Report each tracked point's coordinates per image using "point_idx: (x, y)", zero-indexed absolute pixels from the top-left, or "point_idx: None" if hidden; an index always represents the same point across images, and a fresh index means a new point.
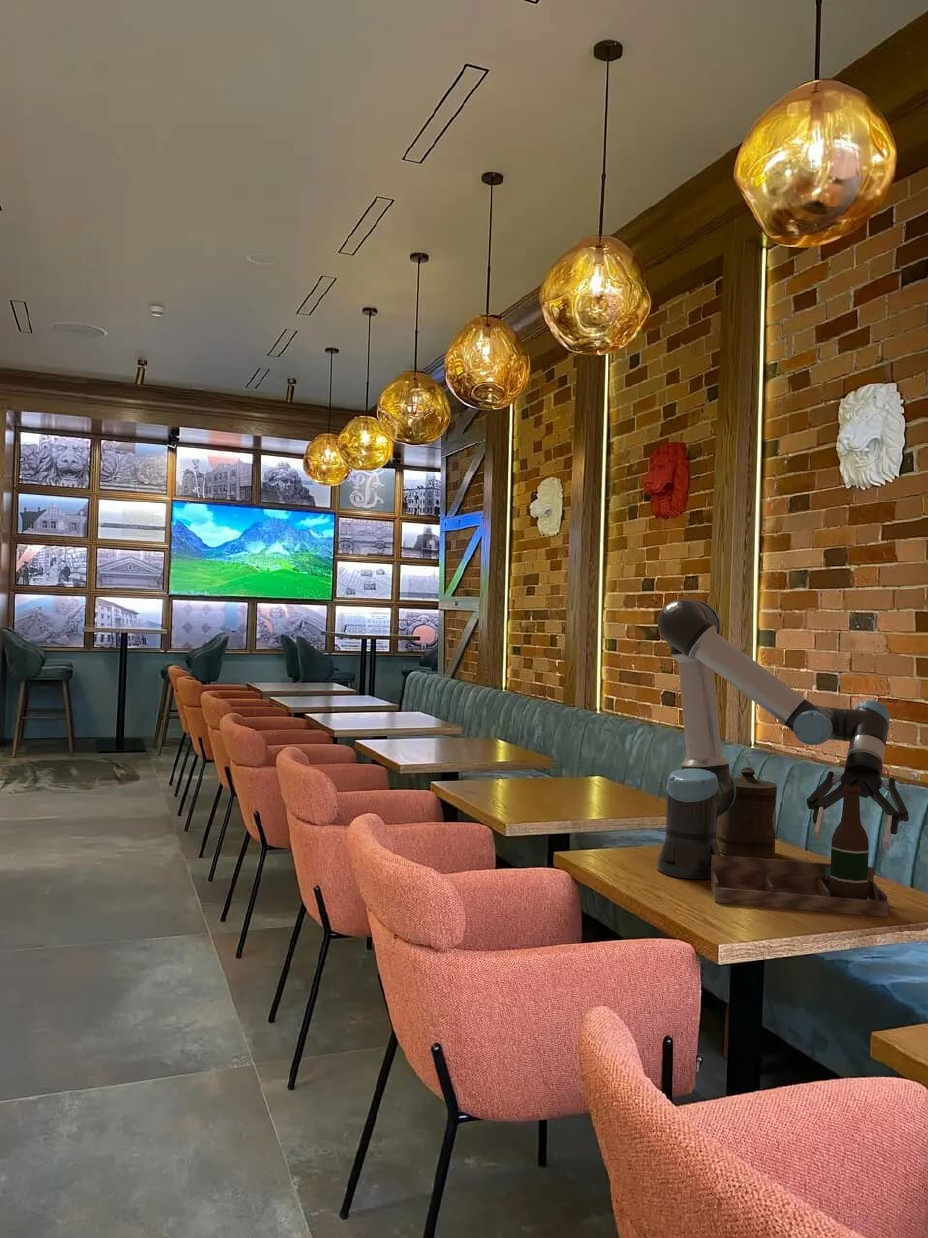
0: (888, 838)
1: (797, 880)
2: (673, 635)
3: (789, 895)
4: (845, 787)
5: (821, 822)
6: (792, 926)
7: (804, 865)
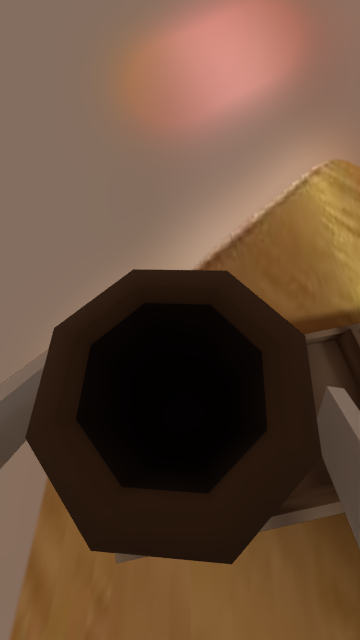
0: (44, 352)
1: (329, 488)
2: None
3: (309, 334)
4: (266, 307)
5: (349, 464)
6: (272, 252)
7: (331, 499)
